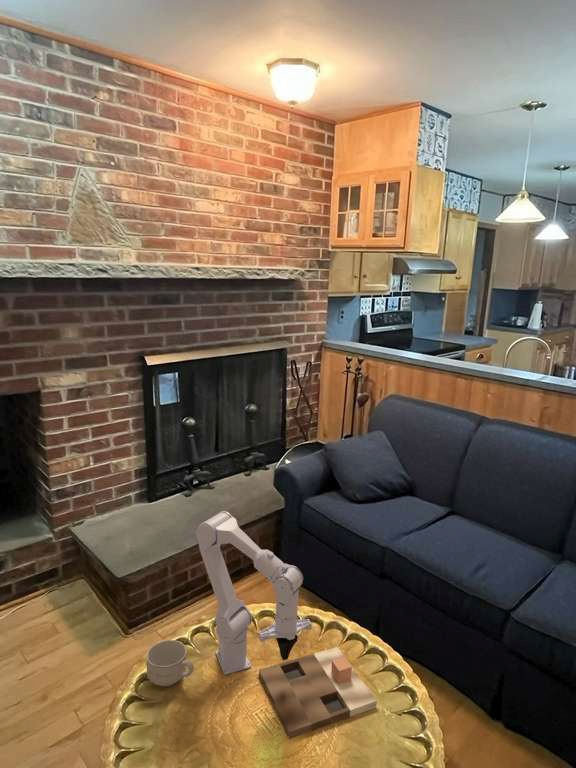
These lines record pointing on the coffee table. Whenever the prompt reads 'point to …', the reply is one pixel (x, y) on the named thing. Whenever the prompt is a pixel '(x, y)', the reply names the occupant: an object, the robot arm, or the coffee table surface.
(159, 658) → the teacup
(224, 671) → the robot arm
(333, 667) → the block
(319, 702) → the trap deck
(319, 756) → the coffee table surface
